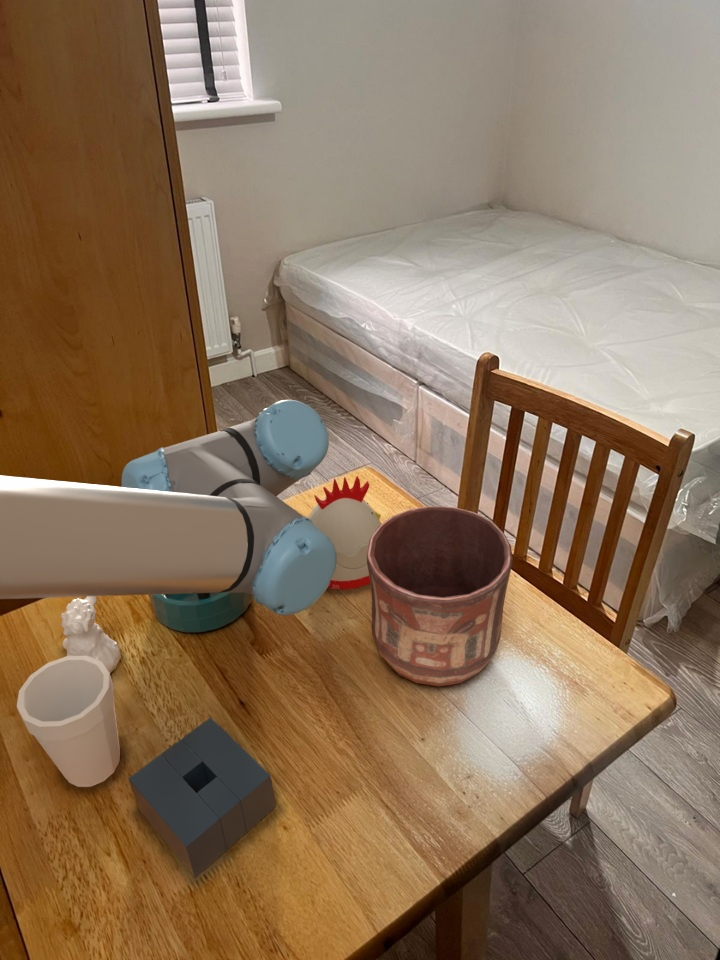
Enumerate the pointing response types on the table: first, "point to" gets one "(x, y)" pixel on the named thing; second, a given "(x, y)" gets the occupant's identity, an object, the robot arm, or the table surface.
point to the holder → (203, 795)
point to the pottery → (438, 592)
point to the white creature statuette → (88, 634)
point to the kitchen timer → (347, 531)
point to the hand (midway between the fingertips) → (186, 528)
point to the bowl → (198, 610)
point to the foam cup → (73, 717)
